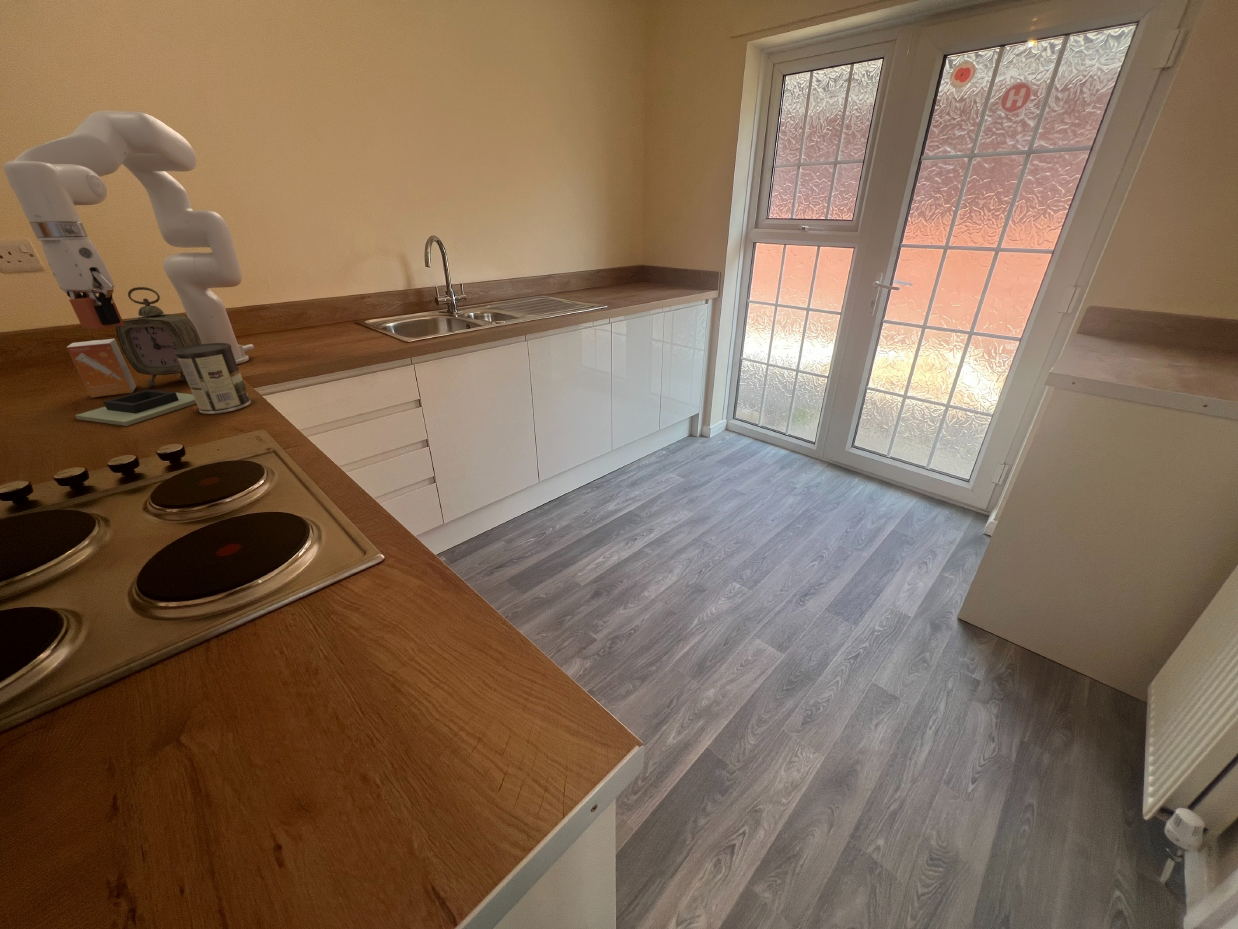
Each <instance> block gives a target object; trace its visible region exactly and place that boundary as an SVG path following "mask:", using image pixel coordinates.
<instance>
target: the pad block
mask: <svg viewBox="0 0 1238 929" xmlns="http://www.w3.org/2000/svg"><path fill="white" fill-rule="evenodd" d="M97 297H98V295H97ZM112 300H113V302H114V304H113V306H114V308H115V310H116V312H117V315H118V317H119V319H120V321H121V322H120V323H118V324H111V325H102V323H101V321H100V319H99V317H98V314H97V312H96V310H95V308H94V306H96V304H95V303H94V301H93V300H92V298H91V297H86V298H77V299H71V298H69V299H68V301H69V303H70V305H71V307H72V309H73V311H74V313H75V316H76V317H77V320H78V322H79V323H80V326H81V328H82V329H90V330H103V329H109V328H114V327H115V328H116V326H121V325H124V323H123V321H124V320H123V317H122V316H121V313H120V310H119V309H118V307H117V304H116V302H115V300H114V297H112Z"/></svg>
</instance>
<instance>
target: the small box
mask: <svg viewBox="0 0 1238 929" xmlns="http://www.w3.org/2000/svg"><path fill="white" fill-rule="evenodd" d="M66 349H67V350H66V351H68V354H69V355H70V358H71V360H72V362H73V364H74V366H75V369H76V370H77V372H78V374H79V376H80V378H81V381H82V383H83V384H84V387H85V388H86V390H87V392H88V394H89V397H90V398H91V399H93V398H101V397H107V396H117V395H125V394H133V393H134V391H135V390H136V388H137V385H136V382H135V380H134V378H133V376H132V374H131V371H130V369H129V367H128V364H127V362H126V360H125V359H124V356H123V354H122V351H121V349H120V346H119V345H118V343H117V340H116V338H109V339H107V338H106V339H95V340H87V341H79V342H72V343H70V344H68V345H67V346H66Z"/></svg>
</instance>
